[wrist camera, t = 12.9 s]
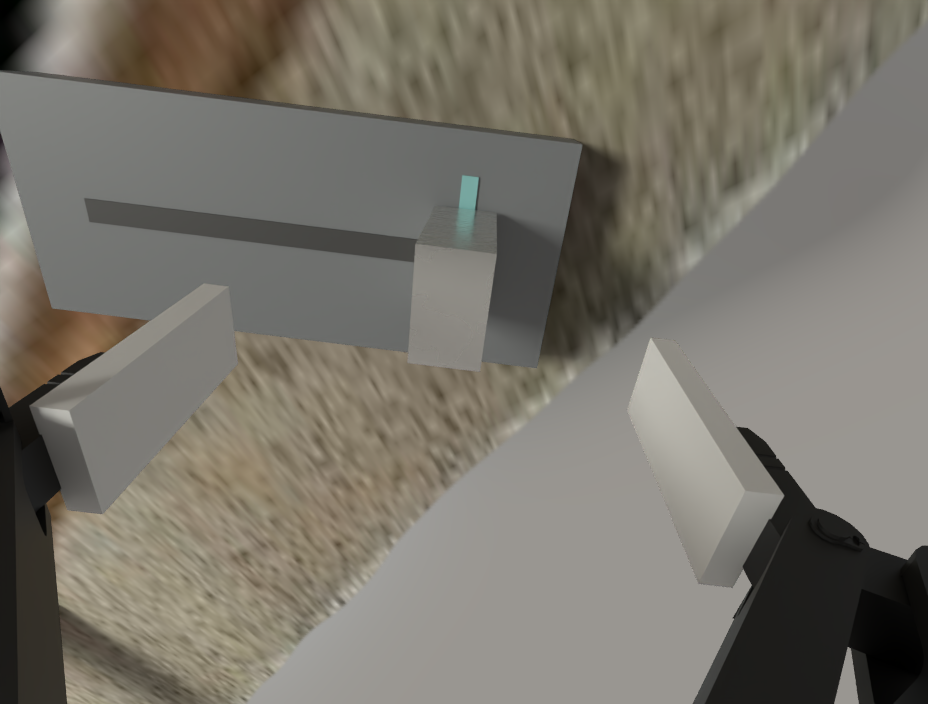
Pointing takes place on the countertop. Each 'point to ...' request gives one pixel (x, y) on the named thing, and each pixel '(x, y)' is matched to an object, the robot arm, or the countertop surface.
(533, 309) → the fader console
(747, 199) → the countertop surface
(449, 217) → the fader knob
